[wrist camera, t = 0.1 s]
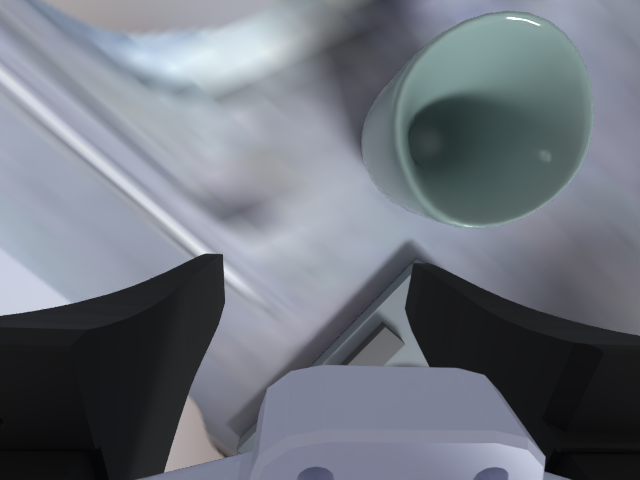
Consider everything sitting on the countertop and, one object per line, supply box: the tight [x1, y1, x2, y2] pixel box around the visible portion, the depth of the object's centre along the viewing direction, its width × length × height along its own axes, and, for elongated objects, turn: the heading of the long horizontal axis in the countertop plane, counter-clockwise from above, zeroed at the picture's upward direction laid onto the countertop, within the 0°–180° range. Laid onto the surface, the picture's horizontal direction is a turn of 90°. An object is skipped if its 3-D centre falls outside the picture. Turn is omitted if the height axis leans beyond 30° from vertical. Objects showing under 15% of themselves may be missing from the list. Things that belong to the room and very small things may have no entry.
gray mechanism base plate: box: [237, 258, 429, 454], centre depth 24 cm, size 20×18×3 cm
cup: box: [361, 11, 594, 229], centre depth 17 cm, size 8×8×10 cm
